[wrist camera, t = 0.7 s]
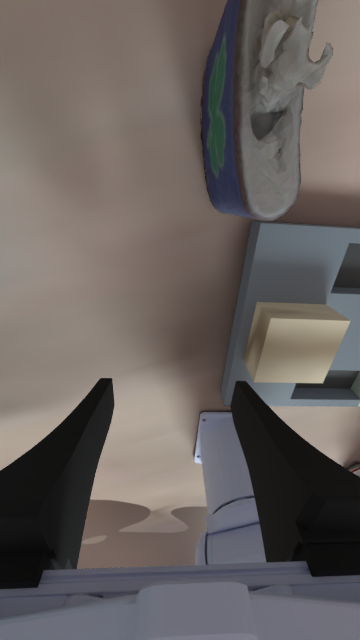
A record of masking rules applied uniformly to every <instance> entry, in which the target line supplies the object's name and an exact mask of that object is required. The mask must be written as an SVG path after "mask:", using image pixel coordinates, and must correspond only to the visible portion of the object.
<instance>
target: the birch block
mask: <svg viewBox="0 0 360 640" xmlns="http://www.w3.org/2000/svg"><path fill="white" fill-rule="evenodd" d="M349 324H350V320H349V319H347V318H346V317H344V316H343V315H341V314H340V313H338V312H337V311H335V310H334V309H332V308H331V307H329V306H328V305H326V304H302V303H275V302H257V303H256V308H255V312H254V316H253V321H252V325H251V329H250V334H249V338H248V343H247V347H246V351H245V356H244V362H245V365H246V367H247V369H248V371H249V373H250V375H251V377H252V380H253V382H262V383H323V382H324V379H325V377H326V375H327V373H328V371H329V368H330V366H331V364H332V362H333V359H334V357H335V355H336V353H337V350H338V348H339V346H340V344H341V342H342V339H343V337H344V335H345V333H346V330H347V328H348V326H349Z"/></svg>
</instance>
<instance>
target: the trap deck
mask: <svg viewBox="0 0 360 640" xmlns="http://www.w3.org/2000/svg"><path fill="white" fill-rule="evenodd" d="M257 302H275V303H302V304H326V305H328V306H329V307H331V308H332V309H334V310H335V311H337V312H338V313H340V314H341V315H343V316H344V317H346V318H347V319H349V320H350V324H349V326H348V328H347V330H346V333H345V335H344V337H343V339H342V342H341V344H340V346H339V348H338V350H337V353H336V355H335V357H334V359H333V362H332V364H331V366H330V368H329V371H328V373H327V375H326V377H325V379H324V382H323V383H262V382H253V380H252V377H251V375H250V373H249V371H248V369H247V367H246V365H245V362H244V356H245V351H246V347H247V343H248V338H249V334H250V329H251V325H252V321H253V316H254V312H255V308H256V303H257ZM236 381H246V382H247V383H248V384H249V385H250V386H251V387H252V388H253V390H254V391H255V392H256V393H257V394H258V395H259V396H260V398H261V399H262V400H263V401H264V402H265V403H266V404H267V405H268V406H351V407H360V227H347V226H331V225H314V224H298V223H281V222H265V221H252V222H251V228H250V233H249V239H248V244H247V250H246V255H245V260H244V266H243V271H242V277H241V282H240V287H239V293H238V298H237V304H236V309H235V314H234V320H233V325H232V331H231V336H230V342H229V347H228V352H227V358H226V363H225V369H224V374H223V379H222V385H221V390H220V393H221V396H222V400H223V404H224V406H230V405H231V400H232V396H233V391H234V387H235V383H236Z"/></svg>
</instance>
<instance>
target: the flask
mask: <svg viewBox="0 0 360 640" xmlns="http://www.w3.org/2000/svg"><path fill="white" fill-rule="evenodd" d="M317 3H318V0H228V1H227V4H226V6H225V9H224V13H223V15H222V18H221V21H220V24H219V28H218V31H217V34H216V37H215V40H214V43H213V46H212V48H211V50H210V53H209V56H208V58H207V61H206V69H205V71H204V76H203V84H202V86H203V87H202V88H203V89H202V97H201V98H202V99H201V107H202V108H201V114H200V116H201V119H200V121H201V122H200V124H201V140H202V147H203V158H204V169H205V175H206V176H205V178H206V183H207V190H208V193H209V197H210V201H211V202H212V204H213V206H214V207H215V208H216V209H217V210H218V211H219V212H221V213H227V214H233V215H237V216H243V217H248V218H252V219H256V220H259V221H273V220H276V219H277V218H279V217H281V216H282V215H284V214H285V213H287V211H288V210H289V209H290V208H291V207H293V206H294V204H295V202H296V199H297V196H298V192H299V187H300V182H301V174H300V146H299V139H300V126H301V112H302V110H303V93H304V85H305V86H306V88H307V89H308V90H311V89H313V88H315V87H316V86H317V85H319V84H320V81H321V79H322V77H323V75H324V71H325V67H326V66H327V64H328V62H329V61H330V59H331V57H332V56H333V48H332V46H331V45H330V43H326V47H325V49H324V51H323V54H322V56H321V58H320V60H318V61H316V62H313V61H312V60H311V59H310V58H309V54H308V52H309V45H310V42H311V39H312V35H313V32H312V29H313V24H314V19H315V13H316V6H317Z"/></svg>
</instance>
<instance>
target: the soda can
mask: <svg viewBox="0 0 360 640" xmlns="http://www.w3.org/2000/svg"><path fill="white" fill-rule="evenodd" d="M348 470H349V471H351V472H352V473H354V474H356V475H357V476H359V477H360V463H358V464H356V465H353V466H352V467H350V468H349V469H348Z"/></svg>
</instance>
